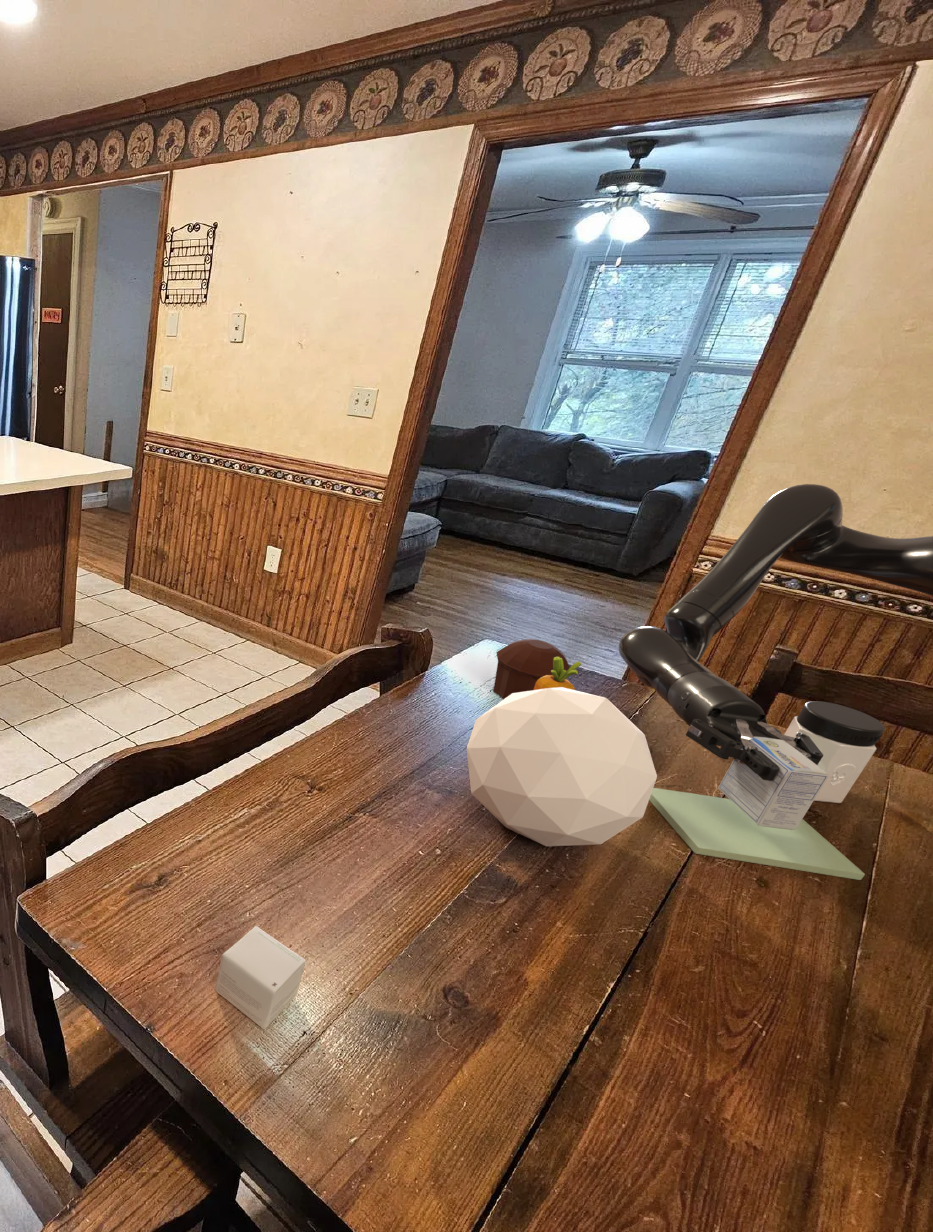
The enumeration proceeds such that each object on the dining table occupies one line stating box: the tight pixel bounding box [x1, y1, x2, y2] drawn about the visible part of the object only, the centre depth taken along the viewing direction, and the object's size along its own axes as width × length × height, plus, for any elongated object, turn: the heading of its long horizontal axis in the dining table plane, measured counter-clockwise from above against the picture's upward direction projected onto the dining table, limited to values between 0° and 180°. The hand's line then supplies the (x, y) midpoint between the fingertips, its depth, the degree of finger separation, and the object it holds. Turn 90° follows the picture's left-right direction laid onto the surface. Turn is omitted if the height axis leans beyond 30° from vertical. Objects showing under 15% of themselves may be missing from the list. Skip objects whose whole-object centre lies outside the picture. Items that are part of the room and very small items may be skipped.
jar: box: [783, 700, 886, 804], centre depth 102 cm, size 9×8×12 cm
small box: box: [214, 925, 307, 1030], centre depth 66 cm, size 6×6×5 cm
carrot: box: [533, 657, 583, 690], centre depth 108 cm, size 5×5×15 cm
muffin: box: [492, 638, 571, 700], centre depth 123 cm, size 12×11×10 cm
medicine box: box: [717, 737, 829, 830], centre depth 90 cm, size 8×4×9 cm, turn 171°
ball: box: [466, 687, 658, 847], centre depth 89 cm, size 19×20×20 cm
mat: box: [649, 787, 866, 881], centre depth 94 cm, size 18×13×1 cm
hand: (795, 777), depth 87 cm, fingers closed on medicine box, 4 cm apart
